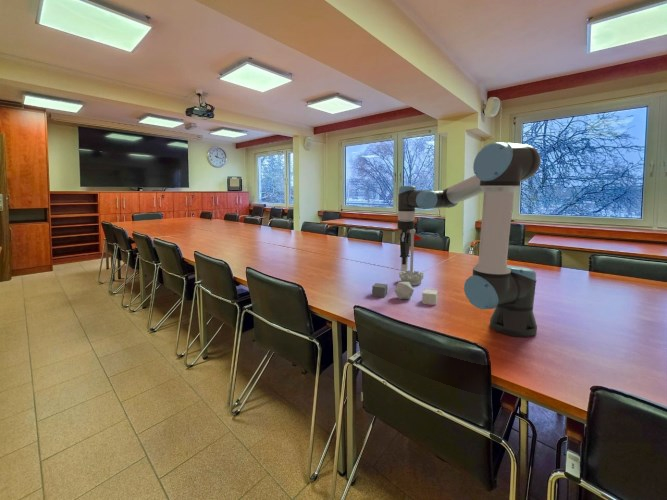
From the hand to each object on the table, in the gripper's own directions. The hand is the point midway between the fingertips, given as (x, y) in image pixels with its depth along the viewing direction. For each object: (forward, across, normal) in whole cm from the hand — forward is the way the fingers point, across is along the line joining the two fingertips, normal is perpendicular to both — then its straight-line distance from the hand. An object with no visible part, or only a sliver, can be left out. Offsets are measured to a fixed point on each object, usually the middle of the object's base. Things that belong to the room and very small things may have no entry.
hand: (404, 270), depth 155 cm
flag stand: (+14, -29, -2) cm, 32 cm away
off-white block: (+13, +1, +12) cm, 18 cm away
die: (+14, 0, 0) cm, 14 cm away
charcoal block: (+14, -1, -12) cm, 18 cm away
